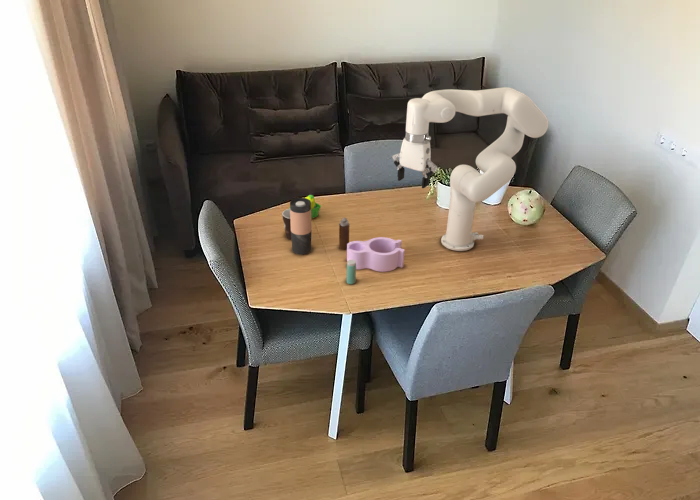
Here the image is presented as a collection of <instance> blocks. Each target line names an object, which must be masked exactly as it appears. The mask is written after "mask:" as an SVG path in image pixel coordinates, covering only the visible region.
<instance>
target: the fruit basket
mask: <svg viewBox="0 0 700 500" xmlns="http://www.w3.org/2000/svg"><path fill="white" fill-rule="evenodd" d="M304 198H306V199H309V200H310V201H311V220H312V219H314V218H317V217H318V216H319V212H320V209H321V207H322V205H320V204H319V203H317V202H316V200H315V196H314V195H313V194H309V195H307V196H306V197H304ZM288 209H290V206H289V207H288Z"/></svg>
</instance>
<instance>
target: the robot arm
mask: <svg viewBox="0 0 700 500" xmlns="http://www.w3.org/2000/svg"><path fill="white" fill-rule="evenodd" d="M406 107H407V108H406V118H405V119H406V120H405V134H404V138H403V139H402V142H401V145H400V152H398V153H397V152H396V153H394V154H392V155H391V157H392V160H393V164H394V166H395V167H396V170H397V175H396V176H397V181H398V182H400V181H402V180H404V179H405V169H406V168H407V169H410V170H414V171H417V172H421V174H422V176H423V177H422V178H421V188H422V189H425V188H427V187H428V186H429V184H430V177H431V176H432V175H433V174H435V173H436V171H437V169H438V166H437V165H436V164H435V163H434V162H433V161H432V159H431V157H432V152H431V150H432V149H431V140H432V136H431V135H429V128H430V123H437V124H440V123H442V124H443V123H447V122H450V121H451V120H452V119H453V118H455V116H456V113H457V112H458V113H460V114H464V115H468V116H471V117H484V116H490V115H491V116H492V115H500V114H505V115H506V116H507V119H506V125H505V127H504V128H505V129H504V131H503V133H502V134H501V135H500V136H499V137H498V138H497V139H496V140H494V141H493V142H491V144H490V145H488V146H487V147H486V148H484V149H483V150H482V151H481V152H479V153H478V155H477V156H476V158H475V165H476V167H477V168H478V169H479V170H477V169H476V168H474V167H473V166H471V165H468V164H459V165H457V166H455V168H453V169H452V171H451V173H450V176H449V188H450V189H449V191H450V197H449V205H448V216H447V221H446V232H445V234H443V235H442V236H441V239H440V242H441V245H442V246H443V247H444V248H446V249H448V250H451V251H455V252H465V251H468V250H471V249H472V248H474V246H475V241H483V240H484V234H479V232H473V226H474V219H475V211H476V205H477V203H481V202H484V201H486V200H487V199H489V198H490V197H491V196H493V195H494V194H495V193H496V192H498V190H500V189H502V188H503V187H504V186H505V185H507V184H508V183H509V182H510V181H511V180H512V179H513V177H514V175H515V174H516V170H517V164H516V162H515V161H514V160H513V159H512V158H513V157H514V156H515V155H516V154H517V153H519V151H520V150H521V149H522V147H523V144H524V139H525V135H526V136H527V137H530V138H532V139H538V138H541V137H543V136H544V135H545V134H546V133H547V131H548V129H549V119H548V117H547V116H546V114H545V113H544V112H543V111H542V110H541V109H540V108H539V106H537V105H536V103H535V102H534V101H533V100H532V98H531V97H529V95H527V94H525V93H523V92H522V91H520V90H517V89H515V88H513V87H508V86H503V87H496V88H488V89H479V90H473V89H471V90H470V89H451V88H450V89H439V90H438V89H437V90H432V91H429V92H427V93H424V95H423V96H422V97H414V98H410V99H409V100H408V102H407V106H406ZM429 168H430V169H429ZM481 172H482V173H481Z"/></svg>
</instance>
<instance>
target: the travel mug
mask: <svg viewBox="0 0 700 500" xmlns="http://www.w3.org/2000/svg"><path fill="white" fill-rule="evenodd" d="M289 207H290V208H289V209H290V221H291V240H290V241H291V250H292V252H293V254H295V255H299V256H304V255H308V254H309V253H311V251H312V233H313V232H312V231H313V229H312V219H311V201H310V200H309V199H306V198H305V197H295V198H293V199H291V200H290V201H289Z"/></svg>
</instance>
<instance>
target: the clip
mask: <svg viewBox="0 0 700 500" xmlns="http://www.w3.org/2000/svg"><path fill="white" fill-rule="evenodd" d="M405 251H406V249H404V248H402V240H401V239H397V240H396V239H394V238H390V237H386V236H385V237H384V236H377V237H373V238H369V239H368V240H363V241H362V240H353V241H349V243H348V244H347V250H346V261H348V260H355V261H356V270H363V269H370V270H372V271H375V272H381V273H383V272H384V273H385V272H391V271H393V270H395V269H397V268H404V263H405Z"/></svg>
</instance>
